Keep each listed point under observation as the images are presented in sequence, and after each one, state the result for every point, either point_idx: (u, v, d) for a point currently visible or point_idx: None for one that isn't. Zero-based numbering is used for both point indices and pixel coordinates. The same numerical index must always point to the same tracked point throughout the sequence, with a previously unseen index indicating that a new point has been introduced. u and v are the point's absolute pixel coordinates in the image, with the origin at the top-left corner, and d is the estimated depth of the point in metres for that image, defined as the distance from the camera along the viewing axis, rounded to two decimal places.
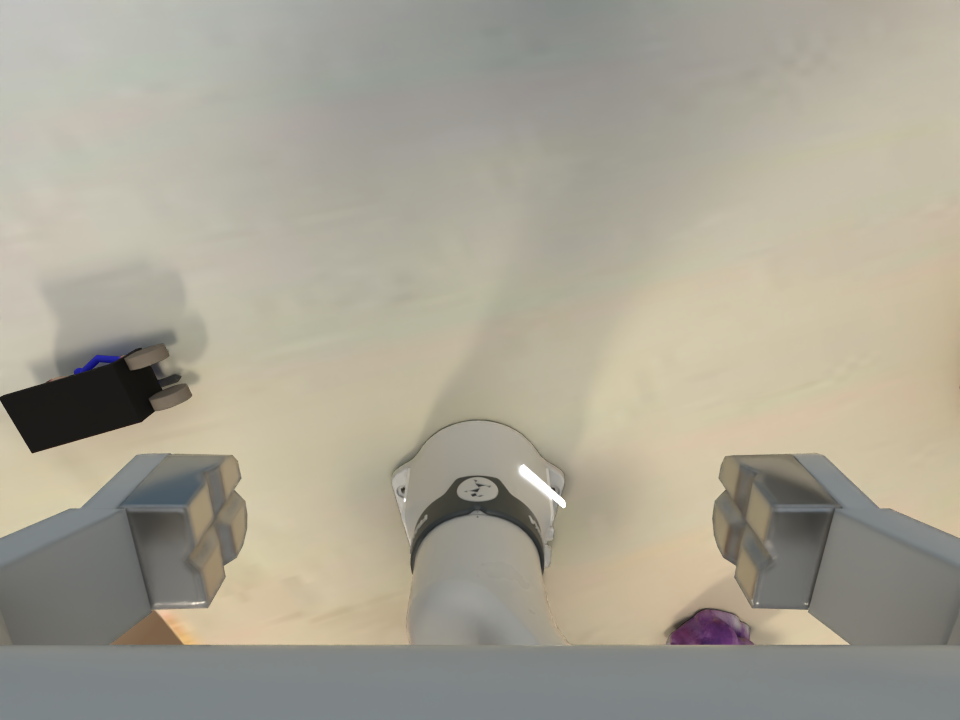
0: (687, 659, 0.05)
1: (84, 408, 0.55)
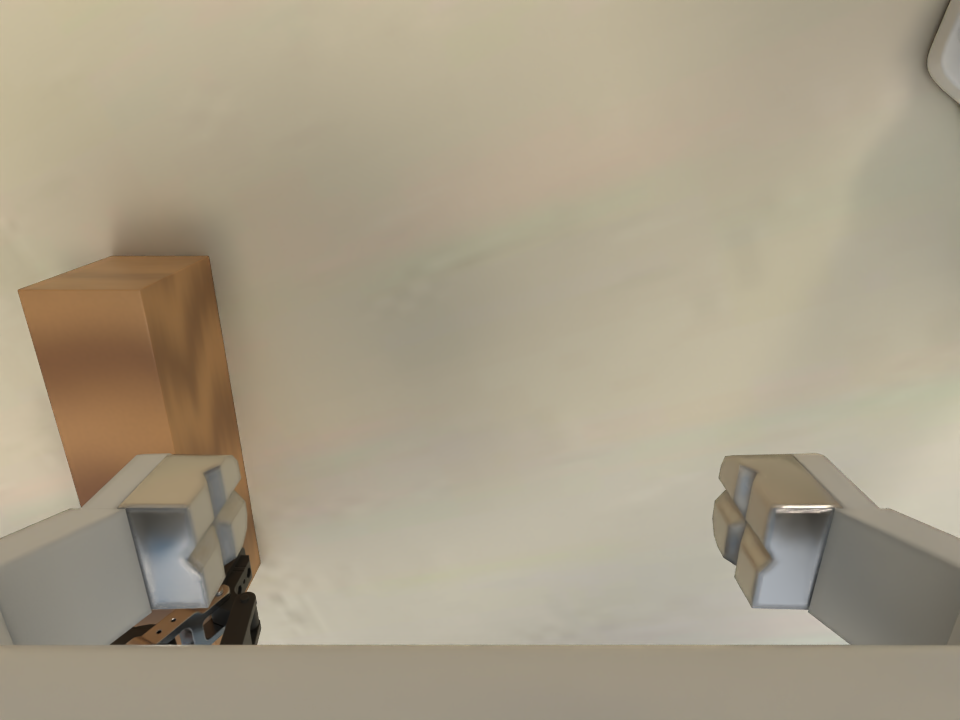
0: (687, 659, 0.05)
1: None
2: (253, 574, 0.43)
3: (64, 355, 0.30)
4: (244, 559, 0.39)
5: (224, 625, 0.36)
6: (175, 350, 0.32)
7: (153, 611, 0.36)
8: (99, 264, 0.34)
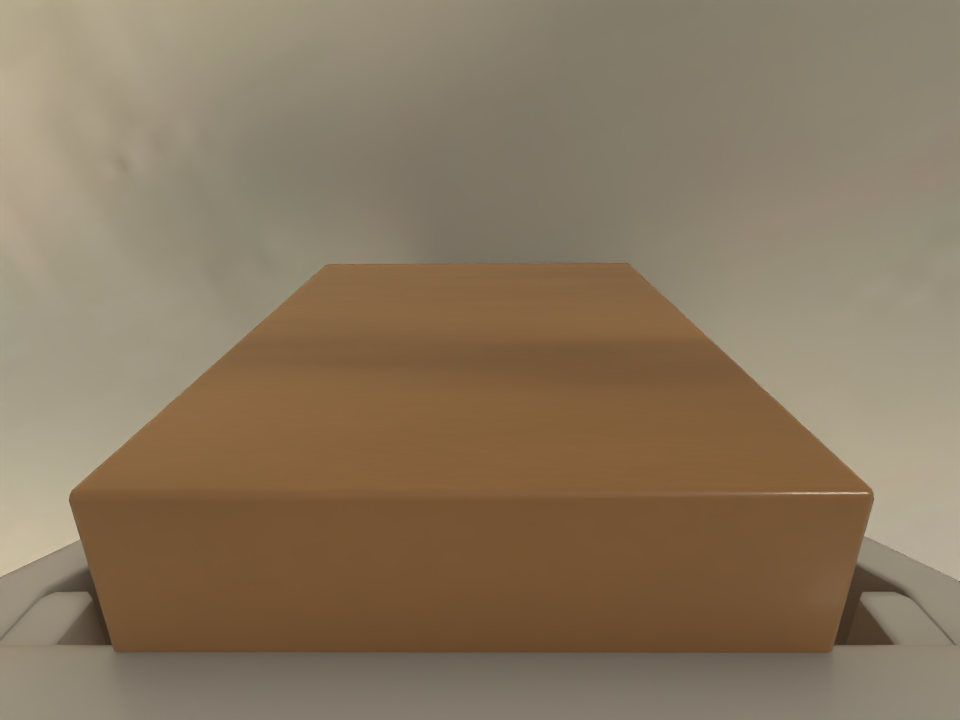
0: (687, 659, 0.05)
1: None
2: None
3: None
4: None
5: None
6: None
7: None
8: (334, 295, 0.10)
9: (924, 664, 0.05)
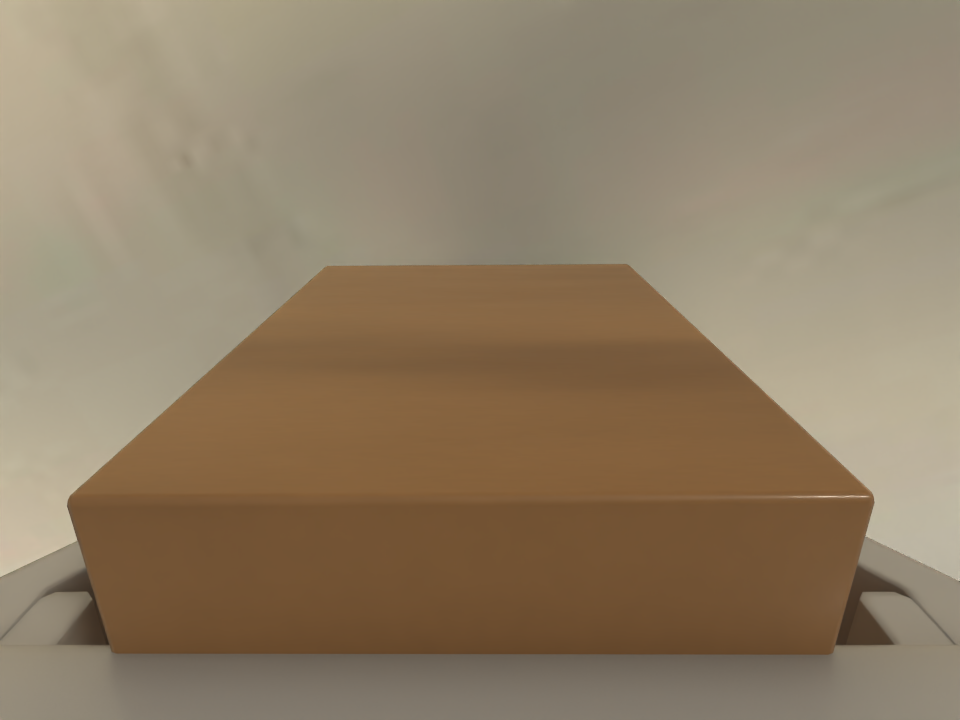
0: (687, 659, 0.05)
1: None
2: None
3: None
4: None
5: None
6: None
7: None
8: (333, 297, 0.09)
9: (924, 664, 0.05)
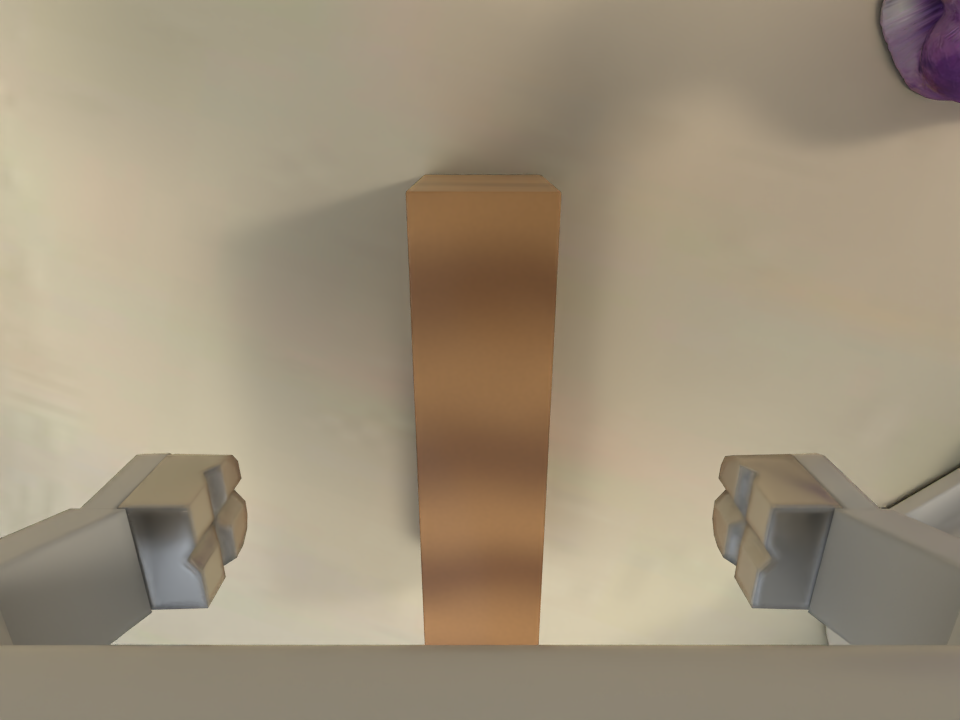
0: (687, 659, 0.05)
1: None
2: None
3: (445, 279, 0.24)
4: None
5: None
6: None
7: (474, 601, 0.30)
8: (434, 178, 0.28)
9: (924, 664, 0.05)
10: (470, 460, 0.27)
